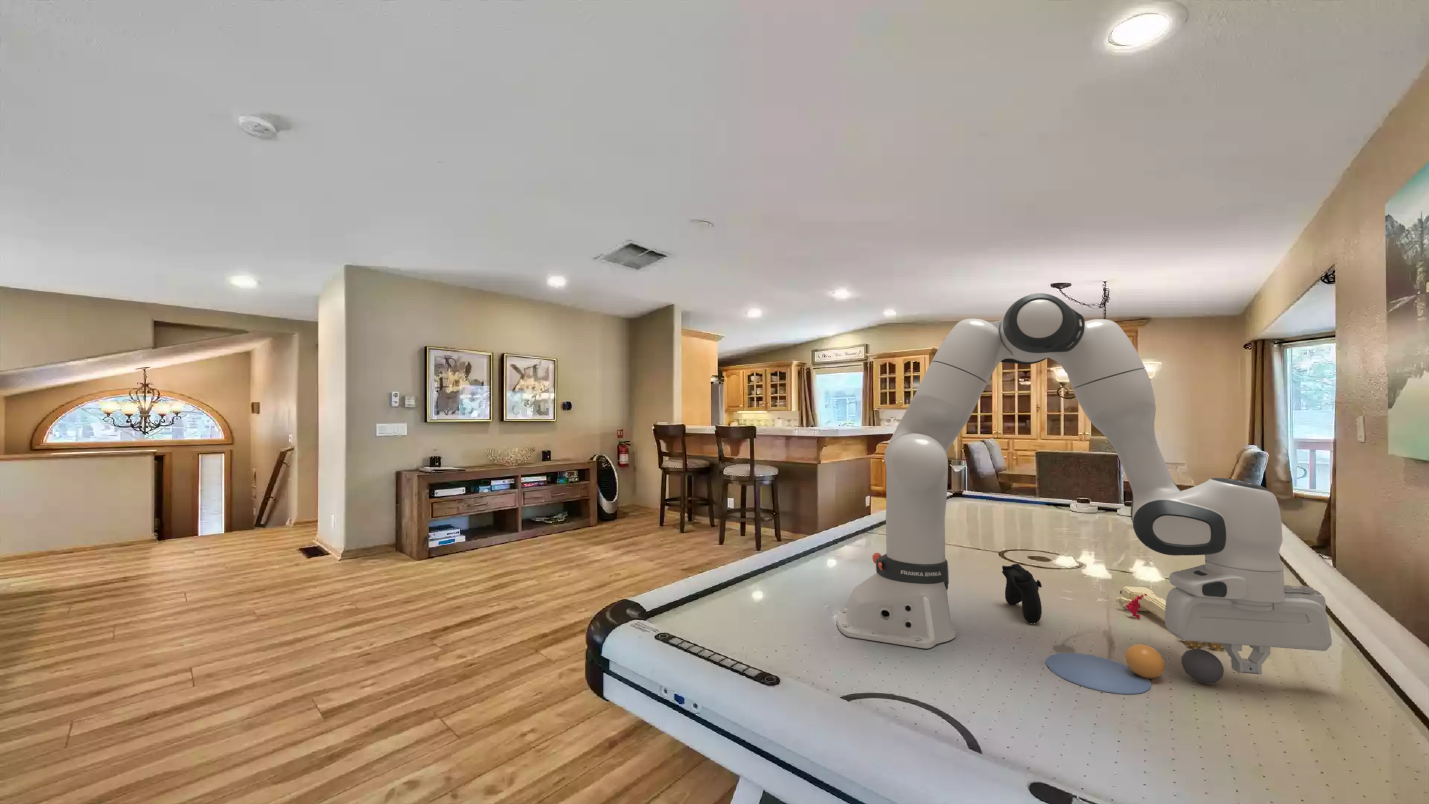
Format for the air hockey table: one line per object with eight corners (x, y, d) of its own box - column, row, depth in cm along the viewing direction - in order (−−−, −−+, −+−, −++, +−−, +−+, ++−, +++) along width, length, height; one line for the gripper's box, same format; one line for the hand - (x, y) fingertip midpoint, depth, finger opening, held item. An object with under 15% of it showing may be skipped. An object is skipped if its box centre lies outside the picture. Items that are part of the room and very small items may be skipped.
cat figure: (1238, 660, 96) (1153, 602, 120) (1240, 612, 95) (1153, 564, 120) (1175, 655, 97) (1103, 599, 122) (1176, 609, 97) (1104, 562, 122)
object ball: (1164, 690, 83) (1130, 674, 84) (1145, 675, 88) (1113, 660, 89) (1177, 661, 83) (1143, 646, 84) (1158, 648, 88) (1126, 633, 89)
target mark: (1067, 689, 82) (1067, 687, 82) (1033, 650, 96) (1033, 649, 96) (1172, 698, 79) (1172, 697, 79) (1121, 658, 93) (1121, 656, 93)
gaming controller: (1053, 627, 107) (1051, 577, 107) (1020, 625, 108) (1019, 575, 108) (1026, 604, 121) (1025, 559, 121) (997, 602, 122) (997, 558, 122)
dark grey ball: (1229, 655, 82) (1235, 689, 81) (1206, 642, 87) (1211, 674, 86) (1191, 657, 83) (1197, 690, 82) (1171, 644, 88) (1176, 675, 87)
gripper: (1305, 581, 85) (1309, 669, 84) (1157, 573, 89) (1160, 657, 89) (1343, 593, 79) (1347, 689, 78) (1182, 584, 83) (1185, 675, 82)
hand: (1246, 672), depth 83 cm, fingers closed
